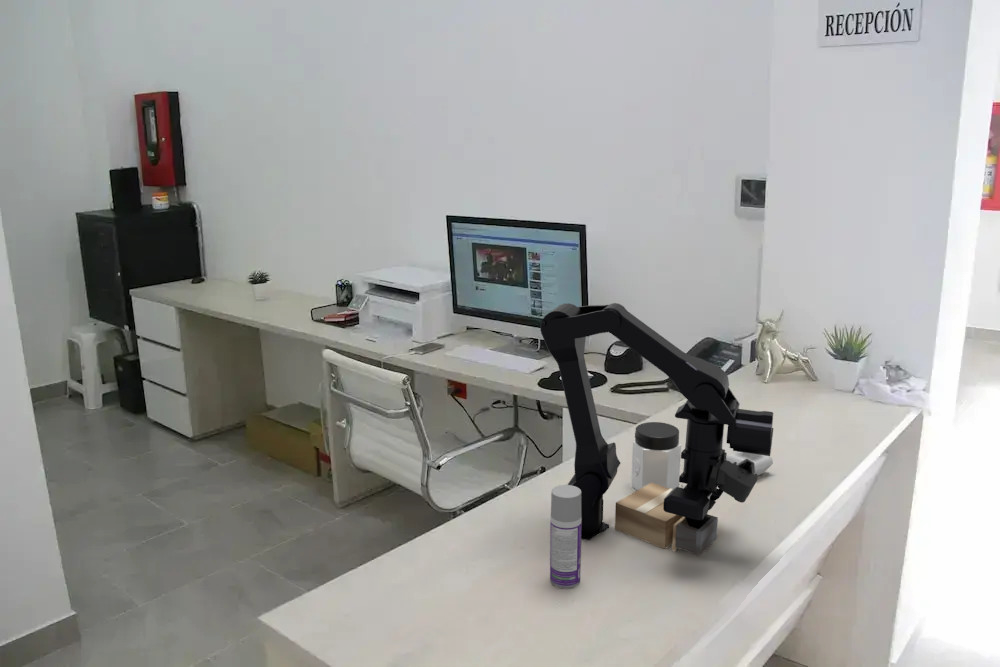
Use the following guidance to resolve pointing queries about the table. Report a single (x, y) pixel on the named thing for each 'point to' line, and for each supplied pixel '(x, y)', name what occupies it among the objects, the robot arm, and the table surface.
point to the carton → (646, 515)
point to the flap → (694, 535)
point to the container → (565, 536)
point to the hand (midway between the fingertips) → (696, 533)
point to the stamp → (759, 460)
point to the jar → (656, 455)
